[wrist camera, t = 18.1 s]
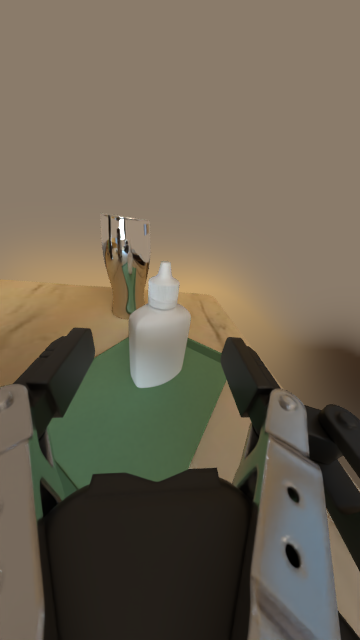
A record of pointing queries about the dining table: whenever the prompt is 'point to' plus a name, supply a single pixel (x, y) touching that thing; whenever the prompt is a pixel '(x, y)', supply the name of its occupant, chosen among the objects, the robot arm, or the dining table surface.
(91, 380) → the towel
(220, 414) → the dining table surface
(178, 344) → the eye dropper bottle
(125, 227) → the beer glass
